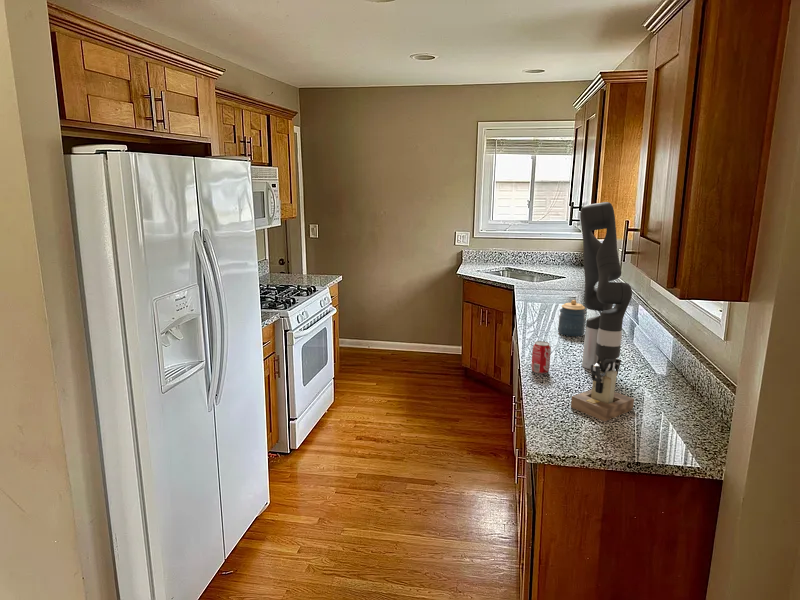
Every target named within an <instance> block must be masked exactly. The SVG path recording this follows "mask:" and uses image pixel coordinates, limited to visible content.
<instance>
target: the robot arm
mask: <svg viewBox="0 0 800 600" xmlns="http://www.w3.org/2000/svg"><path fill="white" fill-rule="evenodd" d="M615 215H616V213H615V209H614V207H613V204H612V203H611V202H610V201H609V202H608V201H606V202H605V201H604V202H597V203H590V204H585V205H583V206H581V209H580V215H579V217H580V225H581V235H582V241H583V242H582V243H583V245H582V247H583V255H582V257H583V271H584V305H585V306H584V307H585V309H587V310H591V311H598V312H600V315H597V316H593V317H589V318H586V320H585V329H584V330H585V331H584V343H583V350H582V351H583V352H582V361H581V366H582V367H583V368H584V369H587V370H590V371H591V372H590V373H591V380H592V382H593V381H596V388H595V391H596V392H597V393H602V391H603V381H604V378H605V377H606V376H607V373H608V371H617V376H618V374H619V371H620V368H621V364H622V359H620V358H619V357H620V355H621V347H622V338H623V334H622V333H623V331H622V330H623V323H624V317H625V314H626V312H627V309H628V307H629V304H631V303H630V302H631V300H632V297H633V290H632V287H631V285H630V284H629V283H626V282H618V281H617V282H615V281H616V280H618V279H620V277H621V276H622V268H621V263H620V258H619V253H618V251H619V250H618V242H617V238H618V237H617V236H618V235H617V227H616V226H617V225H616V216H615ZM605 229H606V234H605V236H604V238H603V240H602V242H601V241H600V240H599V239H598V238H596V236H595V234H594V233H593V231H599V230H605ZM597 283H598V284H597ZM596 285H597V287H595V286H596ZM600 371H601V372H604V373H600ZM600 375H601V376H602V377H601V379H600ZM595 376H596V377H595Z"/></svg>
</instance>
